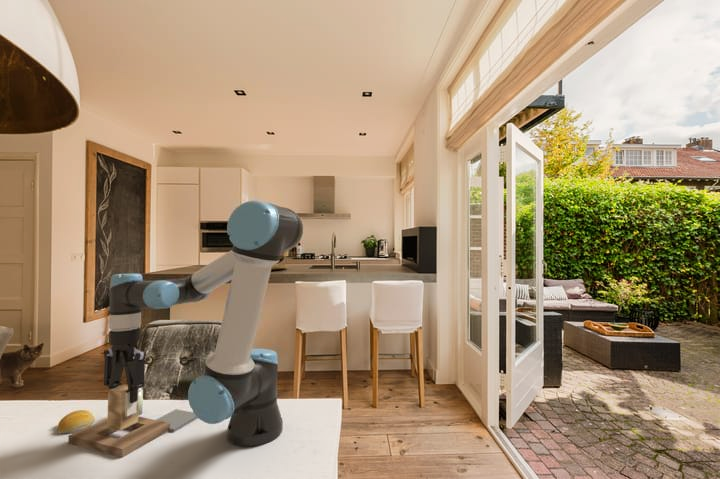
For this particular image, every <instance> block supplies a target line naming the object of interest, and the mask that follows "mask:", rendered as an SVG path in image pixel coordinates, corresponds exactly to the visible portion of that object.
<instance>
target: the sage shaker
mask: <svg viewBox="0 0 720 479" xmlns="http://www.w3.org/2000/svg"><path fill="white" fill-rule="evenodd" d="M143 398H144V390H143V387H142V388H139V400H138V416H139V417H140V415H142V414H143Z"/></svg>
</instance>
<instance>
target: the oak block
mask: <svg viewBox="0 0 720 479" xmlns="http://www.w3.org/2000/svg"><path fill="white" fill-rule="evenodd" d="M127 390H128V386H127V383H126V384H122V385H119V386H118V387H117V388H114V389H111V390H110V389H109V390H108V392H107V394H108V395H107V418H108V420H107V428H110V429H115V430H118V431H122V430H125V429H128V428H127V427H129V426H131V425H133V424H135V423H137V422H138V400H139V389H138V400H137V406H136V413H134V414H131V415H129V416H125V396H126V391H127Z"/></svg>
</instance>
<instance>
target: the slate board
mask: <svg viewBox="0 0 720 479" xmlns="http://www.w3.org/2000/svg"><path fill="white" fill-rule="evenodd" d="M197 419H199V418H198V417H197V416H196V415H195V414H194V413H193V411H187V410H182V409H178V408H177V409H173V410H172V411H169V412H168V413H166V414H164V415H162V416H160V417H158V418H156V419H155V420H158V421H163V422H168V423H170V428H169V431H168V432H173V433H175V432H176V431H179V430H180V429H182V428H184V427H185V426H186V425H187V426H188V424H189V425H190V423H192V422H194V421H195V420H197Z"/></svg>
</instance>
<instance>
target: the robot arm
mask: <svg viewBox="0 0 720 479" xmlns="http://www.w3.org/2000/svg"><path fill="white" fill-rule="evenodd" d="M226 230H227V231H226V232H227V236H229V241H230V242H231V244H232V249H231V250H229V251H228V252H225V253H224V254H223V255H221V256H220V257H218V258H217V259H214V260H213V261H211V262H210V263H208V264H206V265H205V266H203V267H202V268H200V269H198V270H197V271H195V272H194V273H192V274H190V275H189V276H187V277H184V278H175V279H161V280H143V275H142V274H141V273H117V274H113V275H112V276H111V277H110V286H109V314H108V316H109V317H108V329H109V331H108V344H109V345H110V346H111V347H110V348H108V349H104V350H103V356H104V367H103V368H104V370H103V373H104V374H103V386H105V387H108V389H109V390H111V389H114V388H117V387H119V386H122V385H123V383H122V381H121V380H122V376H123V371H124V373H125V377H126V378H125V379H126V384H127V386H128V390H127V391H126V396H125V416H129V415H131V414H134V413H136V406H137V400H138V389H139V388H142V389H143V388H144V387H145V379H146V378H145V366H146V365H145V364H146V363H145V362H146V361H145V360H146V358H147V352H146V350H144V351H141V350H140V349H139V346H138V343H139V342H140V341H141V340H142V328H141V327H140V326H142V309H154V310H160V309H168V308H172V307H173V306H176V305H182V304H188V303H197V302H200V301H203V300H205V299H207V298H208V297H209V295H210V293H211V292H212V291H214V290H216V289H217V288H220V287H221V286H223V285H224V284H226V283H228V282H230V281H231V282H230V287H229V290H228V293H227V298H226V303H225V307H224V312H223V316H222V319H221V325H220V329H219V333H218V336H217V341H216V346H215V350H214V352H213V353H212V354H211V355H209V356H208V357H207V358H206V360H205V364H204V367H203V373H202V375H199V376H197V377H196V378H195V379H194V380H193V381H192V382H191V383H190V385H189V387H188V392H187V398H188V403H189V407H190V408H191V409H192V412H193V413H194V414H195V415H196V416H197V417H198V418H197V419H199V420H200V421H202V422H203V423H206V424H209V425H210V424H211V425H217V424H220V423H222V422H225V421H226V420H227V419H229V423H228V426H227V430H226V431H227V432H226V434H227V435H226V438H227V441H228V442H230V443H231V444H233V445H236V446H240V447H253V446H254V447H255V446H260V445H265V444H267V443H270V442H272V441H274V440H275V439H276V438H278V437H279V436H280V435H281V434H282V432H283V424H284V421H283V417H282V414H281V411H280V407H279V405H278V371H279V370H278V369H279V368H278V367H279V362H278V354H277V352H276V351H275V350H274V349H273V350H272V349H267V348H253V347H254V343H255V339H256V334H257V332H258V326H259V321H260V317H261V314H262V310H263V305H264V301H265V297H266V293H267V289H268V284H269V281H270V276H271V272H272V269H273V268H272V267H274V265H276V264H277V263H279V262H280V260H281V257H282V255H284V254H286V253H287V252H289V251H290V250H292V249H293V248H295V247H296V246H297V245H298V244H299V243H300V242H301V240H302V237H303V234H304V224H303V221H302V219H301V217H300V216H299V214H297V213H296V212H295V211H294V210H292V209H290V208H287V207H283V206H279V205H277V204H272V203H270V202H267V201H261V200H249V201H246V202H243V203H241V204H239V205H238V206H237V207H235V209H234V210H232V212H231V214H230V215H229V218H228V221H227V225H226Z"/></svg>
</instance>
